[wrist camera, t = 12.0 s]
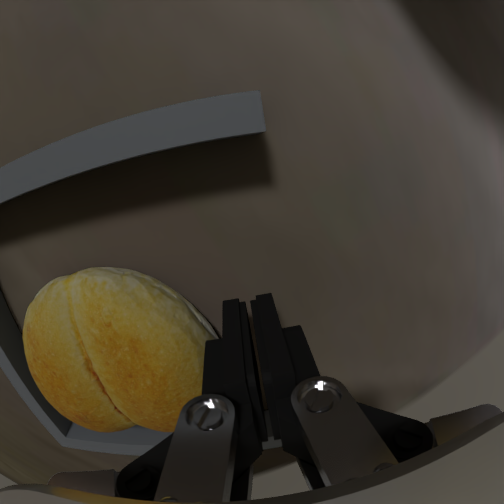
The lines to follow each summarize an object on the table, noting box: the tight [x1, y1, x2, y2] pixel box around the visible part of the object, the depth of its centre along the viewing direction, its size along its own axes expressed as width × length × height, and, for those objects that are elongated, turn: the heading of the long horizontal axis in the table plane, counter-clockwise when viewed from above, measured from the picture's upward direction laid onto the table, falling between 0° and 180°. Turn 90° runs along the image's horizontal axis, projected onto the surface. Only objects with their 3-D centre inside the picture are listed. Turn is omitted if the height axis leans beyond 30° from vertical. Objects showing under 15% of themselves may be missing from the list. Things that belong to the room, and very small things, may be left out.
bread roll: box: [22, 267, 219, 433], centre depth 10 cm, size 8×9×4 cm
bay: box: [0, 90, 282, 456], centre depth 11 cm, size 15×15×2 cm
